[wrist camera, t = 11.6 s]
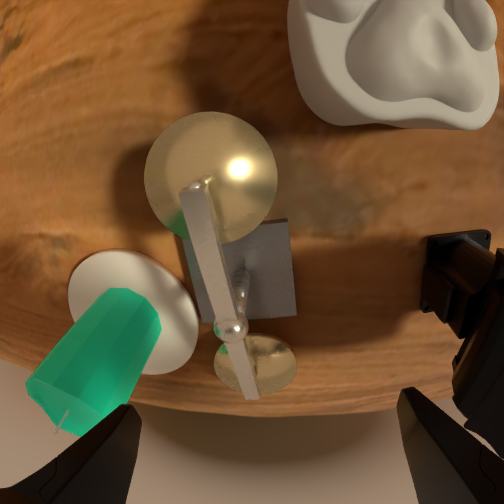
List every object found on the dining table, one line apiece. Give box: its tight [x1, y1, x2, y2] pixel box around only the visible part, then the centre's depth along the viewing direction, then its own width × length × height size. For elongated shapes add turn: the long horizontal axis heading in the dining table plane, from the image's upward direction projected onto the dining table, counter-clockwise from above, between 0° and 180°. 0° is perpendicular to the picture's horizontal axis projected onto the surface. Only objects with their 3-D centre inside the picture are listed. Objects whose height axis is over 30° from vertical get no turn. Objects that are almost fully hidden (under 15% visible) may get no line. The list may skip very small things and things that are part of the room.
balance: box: [144, 112, 297, 400], centre depth 17 cm, size 7×21×8 cm, turn 8°
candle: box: [26, 288, 162, 437], centre depth 16 cm, size 6×6×12 cm
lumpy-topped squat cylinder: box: [287, 0, 499, 131], centre depth 10 cm, size 10×13×9 cm
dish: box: [68, 248, 200, 375], centre depth 23 cm, size 12×12×1 cm
